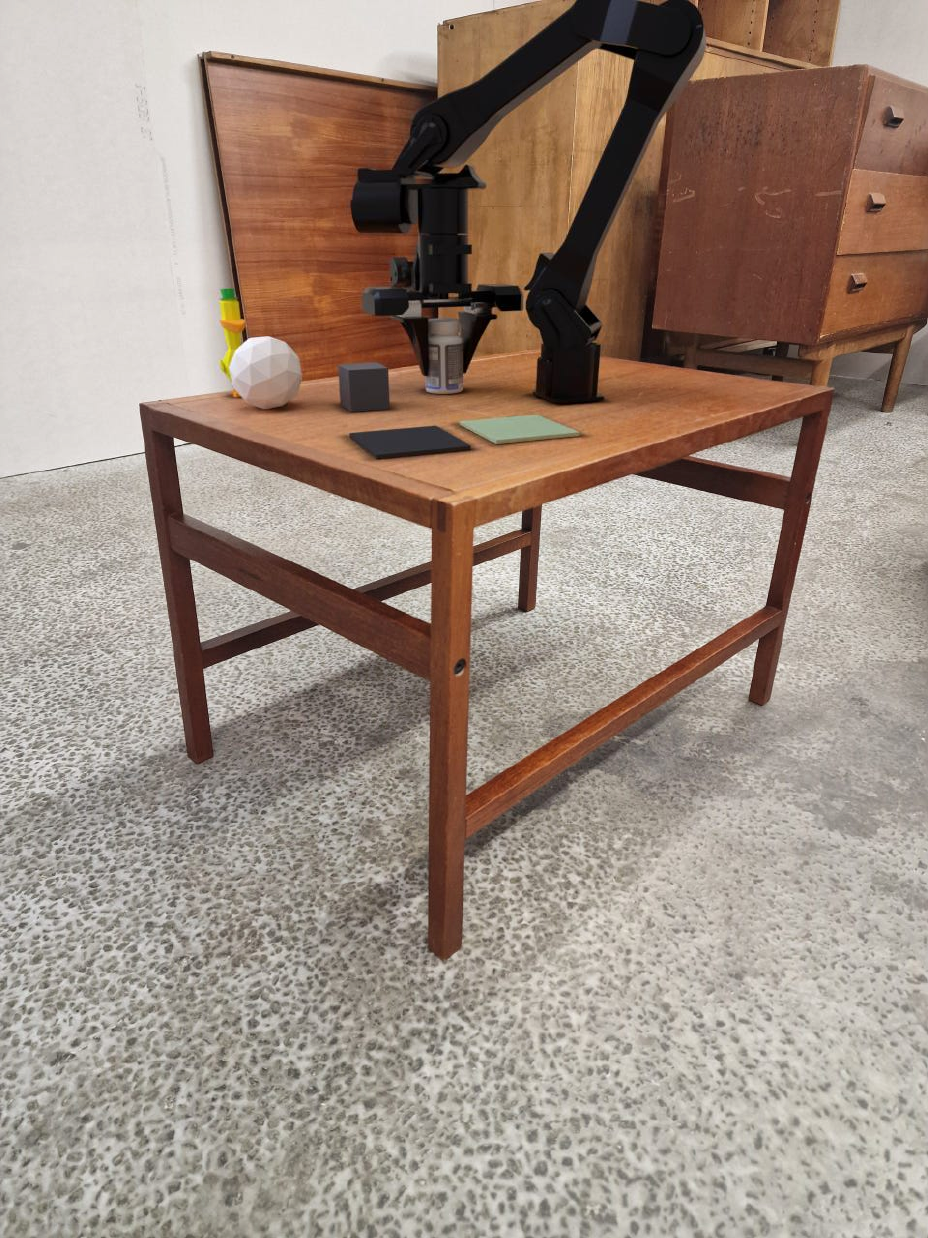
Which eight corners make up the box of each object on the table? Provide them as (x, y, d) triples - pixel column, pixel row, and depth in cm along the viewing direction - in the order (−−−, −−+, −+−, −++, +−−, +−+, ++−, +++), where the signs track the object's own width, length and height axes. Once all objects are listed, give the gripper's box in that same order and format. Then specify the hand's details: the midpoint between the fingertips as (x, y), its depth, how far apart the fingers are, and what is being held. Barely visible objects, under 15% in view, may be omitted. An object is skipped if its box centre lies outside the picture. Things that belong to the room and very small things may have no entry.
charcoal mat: (436, 429, 81) (435, 425, 81) (470, 449, 73) (470, 445, 73) (349, 436, 78) (349, 432, 78) (376, 459, 70) (376, 454, 70)
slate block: (378, 402, 94) (376, 361, 92) (389, 409, 90) (388, 367, 88) (340, 404, 92) (337, 364, 90) (350, 412, 88) (348, 370, 86)
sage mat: (537, 417, 86) (537, 414, 86) (579, 436, 78) (579, 431, 78) (459, 424, 83) (459, 420, 83) (495, 444, 75) (496, 440, 75)
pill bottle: (462, 387, 102) (462, 317, 98) (463, 394, 98) (464, 321, 94) (425, 387, 102) (424, 317, 98) (424, 394, 98) (423, 321, 94)
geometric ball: (255, 430, 92) (224, 368, 93) (318, 401, 93) (287, 340, 93) (242, 408, 85) (209, 341, 85) (311, 377, 86) (278, 311, 86)
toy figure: (262, 399, 95) (250, 289, 89) (231, 401, 93) (218, 290, 88) (249, 390, 100) (237, 286, 95) (220, 392, 99) (207, 287, 93)
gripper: (488, 234, 102) (486, 361, 109) (345, 234, 96) (353, 369, 103) (527, 234, 93) (522, 373, 100) (372, 234, 86) (379, 383, 93)
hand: (444, 374), depth 99 cm, fingers closed on pill bottle, 5 cm apart
